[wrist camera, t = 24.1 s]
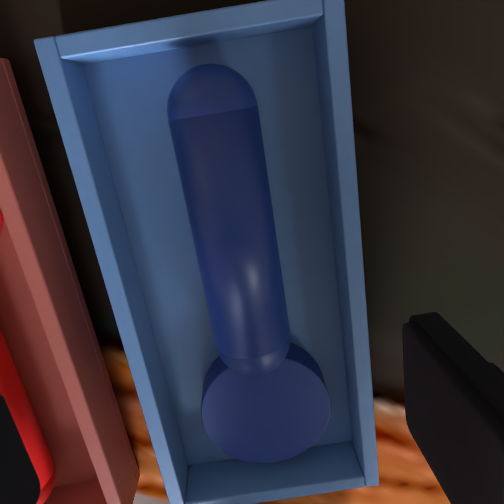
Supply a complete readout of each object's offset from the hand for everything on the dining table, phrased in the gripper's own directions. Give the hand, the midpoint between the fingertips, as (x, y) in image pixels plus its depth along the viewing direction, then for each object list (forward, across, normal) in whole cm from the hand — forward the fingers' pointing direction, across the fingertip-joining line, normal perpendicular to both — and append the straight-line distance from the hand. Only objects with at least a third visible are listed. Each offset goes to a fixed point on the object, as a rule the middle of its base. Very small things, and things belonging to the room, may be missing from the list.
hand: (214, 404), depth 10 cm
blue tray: (+8, -1, 0) cm, 8 cm away
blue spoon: (+7, -1, 0) cm, 7 cm away
